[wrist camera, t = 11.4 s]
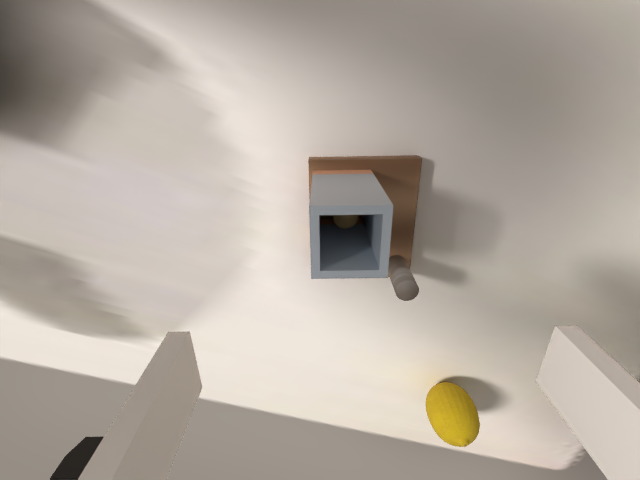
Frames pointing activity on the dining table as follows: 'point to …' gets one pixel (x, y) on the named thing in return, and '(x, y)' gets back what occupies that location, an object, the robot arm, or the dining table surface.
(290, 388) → the dining table surface
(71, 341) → the dining table surface
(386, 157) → the pin board
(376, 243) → the sleeve
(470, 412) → the lemon
